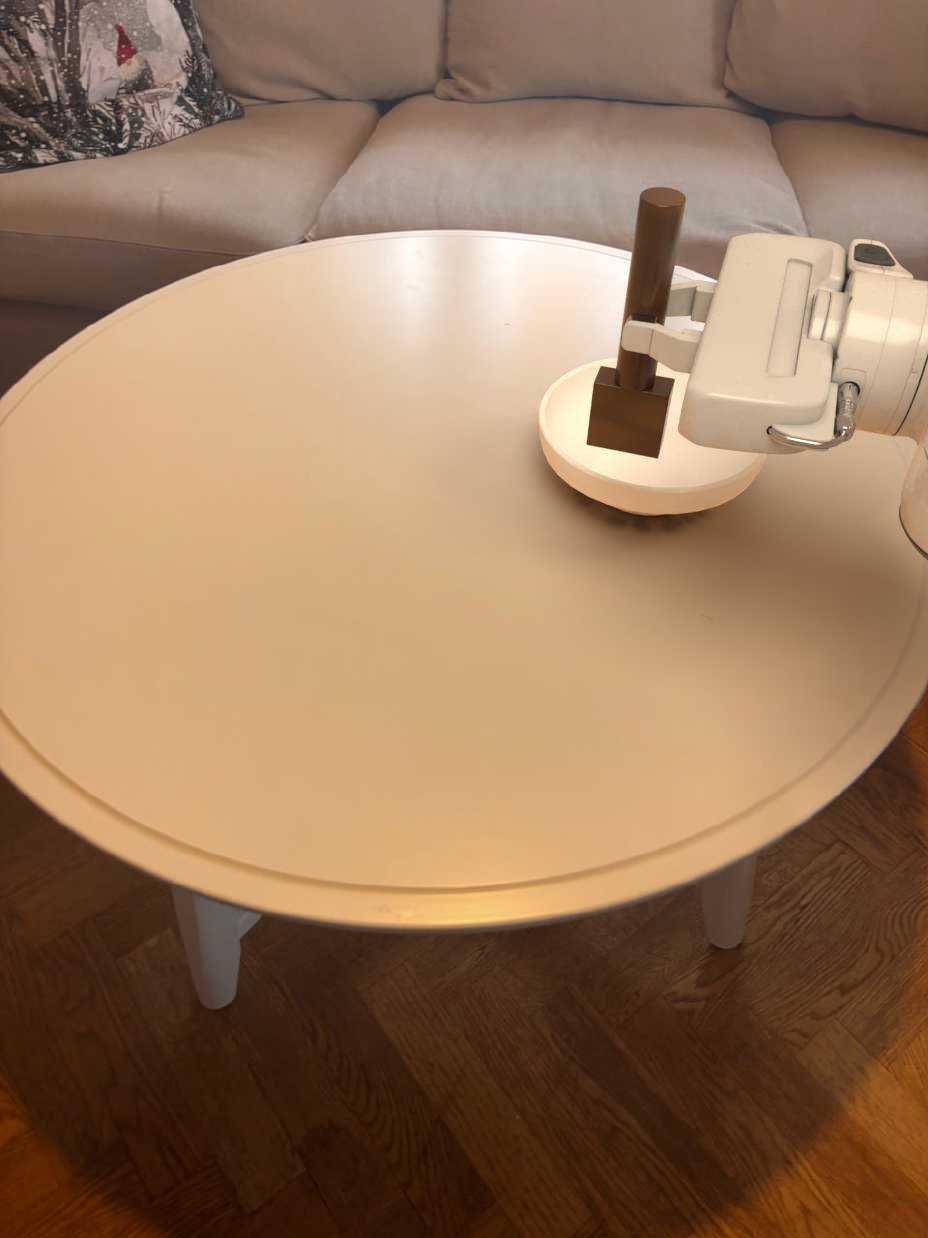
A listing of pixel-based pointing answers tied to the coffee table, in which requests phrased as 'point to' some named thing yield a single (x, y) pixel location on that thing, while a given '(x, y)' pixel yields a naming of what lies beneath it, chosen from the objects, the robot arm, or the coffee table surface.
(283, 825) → the coffee table surface
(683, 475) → the bowl
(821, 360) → the robot arm
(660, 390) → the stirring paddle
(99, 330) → the coffee table surface
